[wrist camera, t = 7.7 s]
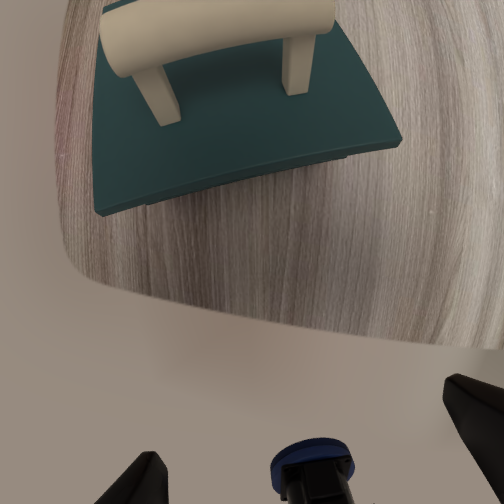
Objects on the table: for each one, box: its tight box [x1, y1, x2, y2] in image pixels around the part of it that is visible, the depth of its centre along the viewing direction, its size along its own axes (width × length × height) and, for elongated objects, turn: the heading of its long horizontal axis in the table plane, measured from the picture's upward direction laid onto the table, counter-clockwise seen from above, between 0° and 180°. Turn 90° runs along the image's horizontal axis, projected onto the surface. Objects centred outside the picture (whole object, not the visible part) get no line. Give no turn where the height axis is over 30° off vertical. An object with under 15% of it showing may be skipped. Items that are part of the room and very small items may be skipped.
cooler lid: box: [92, 0, 402, 217], centre depth 8 cm, size 11×10×5 cm
